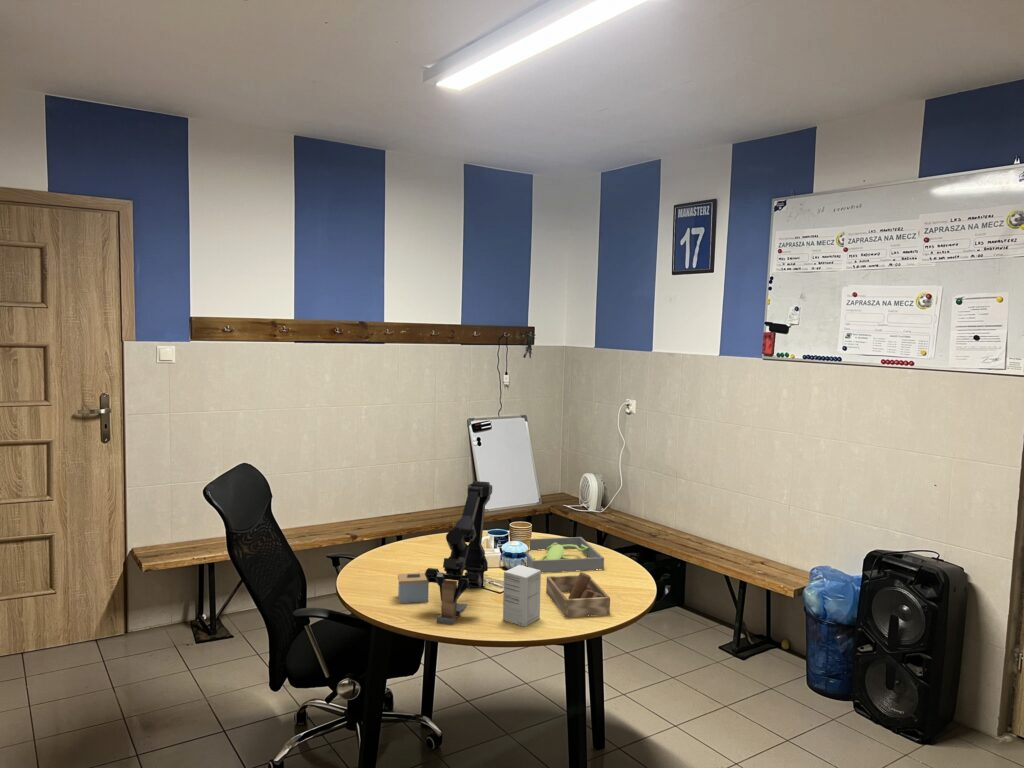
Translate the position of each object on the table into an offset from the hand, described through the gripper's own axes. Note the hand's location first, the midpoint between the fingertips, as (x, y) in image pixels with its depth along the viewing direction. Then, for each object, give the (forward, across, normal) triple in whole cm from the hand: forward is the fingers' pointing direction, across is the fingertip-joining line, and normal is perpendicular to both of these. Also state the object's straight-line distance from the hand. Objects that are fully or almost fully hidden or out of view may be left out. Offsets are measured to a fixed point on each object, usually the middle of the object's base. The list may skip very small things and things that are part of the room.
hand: (447, 601), depth 248 cm
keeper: (+4, 0, +6) cm, 7 cm away
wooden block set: (-15, +42, +25) cm, 51 cm away
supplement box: (-1, +23, +10) cm, 26 cm away
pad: (-3, 0, +13) cm, 13 cm away
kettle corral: (-48, +26, +57) cm, 79 cm away
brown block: (+4, 0, +6) cm, 7 cm away
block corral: (-15, +40, +24) cm, 49 cm away
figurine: (-48, +26, +58) cm, 80 cm away
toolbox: (-6, -18, +16) cm, 24 cm away
